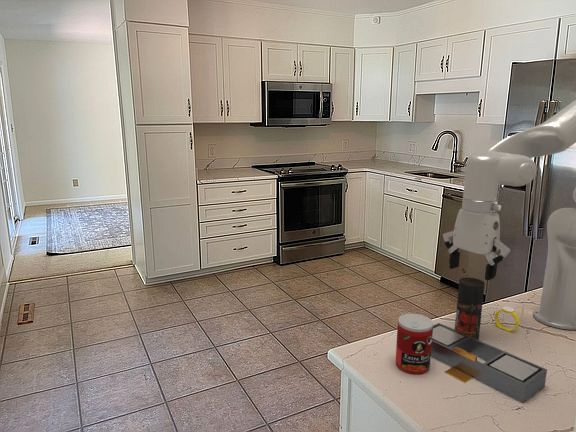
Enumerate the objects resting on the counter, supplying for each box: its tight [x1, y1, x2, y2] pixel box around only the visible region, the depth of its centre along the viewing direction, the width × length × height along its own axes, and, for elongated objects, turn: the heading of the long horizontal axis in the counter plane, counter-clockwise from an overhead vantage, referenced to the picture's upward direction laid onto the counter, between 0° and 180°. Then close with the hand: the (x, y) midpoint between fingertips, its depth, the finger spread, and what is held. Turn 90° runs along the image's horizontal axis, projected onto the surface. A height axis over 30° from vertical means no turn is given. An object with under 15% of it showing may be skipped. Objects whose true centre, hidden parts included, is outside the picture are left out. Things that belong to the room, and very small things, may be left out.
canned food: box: [395, 313, 434, 375], centre depth 100 cm, size 8×8×11 cm
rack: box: [431, 322, 548, 404], centre depth 99 cm, size 12×26×5 cm, turn 36°
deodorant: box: [454, 276, 486, 340], centre depth 113 cm, size 6×6×15 cm
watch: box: [493, 306, 520, 332], centre depth 117 cm, size 6×3×6 cm, turn 39°
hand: (471, 273), depth 110 cm, fingers open, 9 cm apart
